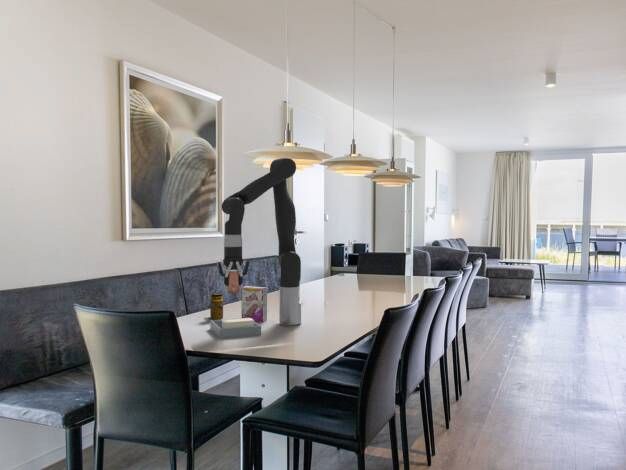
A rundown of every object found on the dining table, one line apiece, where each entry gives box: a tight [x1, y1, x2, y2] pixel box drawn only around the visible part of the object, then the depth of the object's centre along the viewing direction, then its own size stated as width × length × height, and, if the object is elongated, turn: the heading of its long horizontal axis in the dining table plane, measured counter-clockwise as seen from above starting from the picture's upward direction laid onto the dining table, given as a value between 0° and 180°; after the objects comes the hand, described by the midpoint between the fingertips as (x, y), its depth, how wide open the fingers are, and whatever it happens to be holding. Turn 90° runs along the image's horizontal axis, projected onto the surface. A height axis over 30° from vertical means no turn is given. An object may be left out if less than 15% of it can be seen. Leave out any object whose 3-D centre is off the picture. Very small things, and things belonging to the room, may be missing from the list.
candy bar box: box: [241, 285, 268, 323], centre depth 236 cm, size 11×5×16 cm, turn 70°
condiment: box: [204, 292, 227, 321], centre depth 244 cm, size 7×8×12 cm
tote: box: [209, 317, 262, 340], centre depth 213 cm, size 17×18×4 cm
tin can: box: [226, 269, 240, 294], centre depth 215 cm, size 5×5×9 cm
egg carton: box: [222, 318, 254, 329], centre depth 209 cm, size 12×5×6 cm, turn 113°
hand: (233, 285), depth 215 cm, fingers closed on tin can, 5 cm apart
